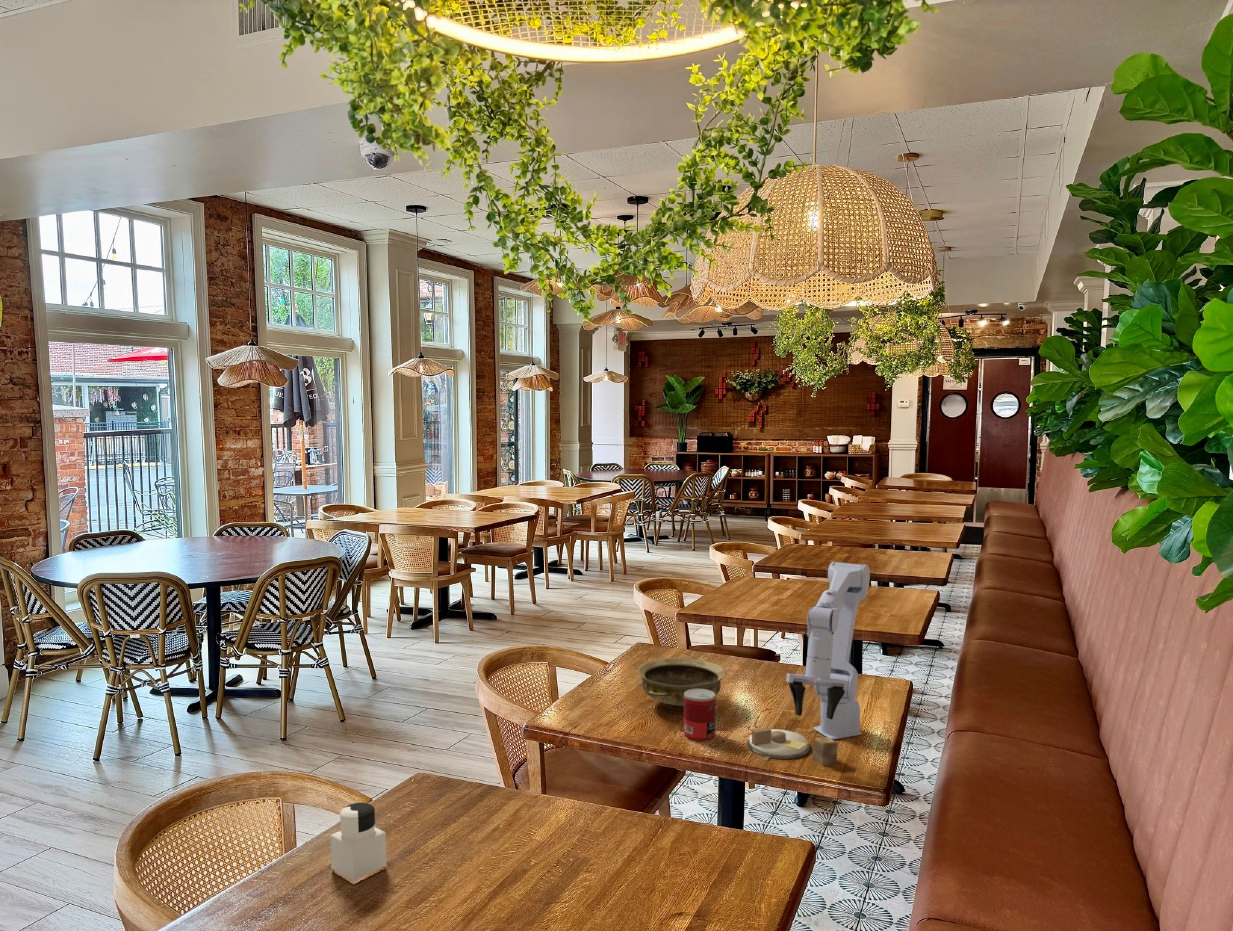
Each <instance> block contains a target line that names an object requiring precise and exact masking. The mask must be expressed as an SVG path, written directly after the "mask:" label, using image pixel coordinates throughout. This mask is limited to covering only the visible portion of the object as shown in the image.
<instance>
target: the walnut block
mask: <svg viewBox="0 0 1233 931" xmlns="http://www.w3.org/2000/svg"><path fill="white" fill-rule="evenodd" d="M812 760H813V761H814V762H816V763H817V764H819V765H820V766H822V767H824V766H831V765H835V764H837V763H838V742H836V741H835V739H833V740H832V739H830V738H829V737H826V736H822V737H817V738H813V739H812Z"/></svg>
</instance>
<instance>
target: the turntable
mask: <svg viewBox="0 0 1233 931" xmlns="http://www.w3.org/2000/svg"><path fill="white" fill-rule="evenodd" d="M748 740H749V743H750V746H751V747H752V748H753V749H754V750H756V751H758V752H760V753H763V754H767V755H772V756H783V757H784V756H795V755H799V754H801V753H803V752H805V751H806V750H807V743H808V739H807V738H806V737H804V736H803V735H802V734H800V733H798V732H795V731H790V730H786V729H777V728H776V729H775V728H773V729H772V728H769V727H763V728H755V729H752V730H751V735H749V739H748Z"/></svg>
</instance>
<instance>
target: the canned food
mask: <svg viewBox="0 0 1233 931" xmlns="http://www.w3.org/2000/svg"><path fill="white" fill-rule="evenodd" d="M716 697H717V695H716V696H715V693H714V692H713V691H710V690H707V689H690V690H687V691H685V693H684V710H683V734H684V737H685V738H687V739H688V740H690V739H691V741H694V740H696V741H695V742H707V741H711V740H714V739H715V736H716V711H717V710H716V709H717V708H716V706H717V705H716V704H717V703H716V701H717V698H716Z"/></svg>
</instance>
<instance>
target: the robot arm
mask: <svg viewBox="0 0 1233 931" xmlns="http://www.w3.org/2000/svg"><path fill="white" fill-rule="evenodd" d="M827 570H828V571H827V581H828V584H829V588H828V589H826V590H824V591H823V592H822V594H820V597H819V599H818V600H817V603H816V605H815V606H813V607H812V608H811V607H810V608H809V610H808V613H807V617H806V625H807V626H806V627H807V633H806V634H807V635H806V636H807V637H808V642H807V654H806V663H805V664H806V665H805V666H806V667H805V674H798V673H788V672H787V673H786V680H785V682H787V683H788V687H789V689H790V692H791V695H792V698H793V703H794V708H795V709H794V710H795V715H796V716H800V717H801V716H802V714H803V704H804V697H805V693H806V686H804V685H811V686H813V689H814V692H815V694H816V695H818V699H820V725H817V726H813V730H814V731H816V732H818V733H819V734H821V735H822V736H823V737H829V738H830V739H832V740H838V739H844V738H850V737H855V736H861V735H863V732H861V730H860V729H861V707H860V703H859V701H858V700H857V698H856V696H857V692H858V676H859V674H858V670H857V669H856V668H855V667H854V666H853V665H852V664H851V663H850V662H849V661H850V655H851V651H852V650H851V649H852V643H853V642H852V641H853V637H854V630H855V624H856V619H857V618H856V617H857V613H858V607H859V605H860V602H861V601H863V600H865V599H867V595H868V591H869V585H870V580H871V579H870V577H871V575H870V574H871V572H870V571H871V570H870V566H868V564H858V563H848V562H847V563H846V562H839V561H838V562H836V561H832V562H831V563H830V564H829V566H828V569H827Z"/></svg>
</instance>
